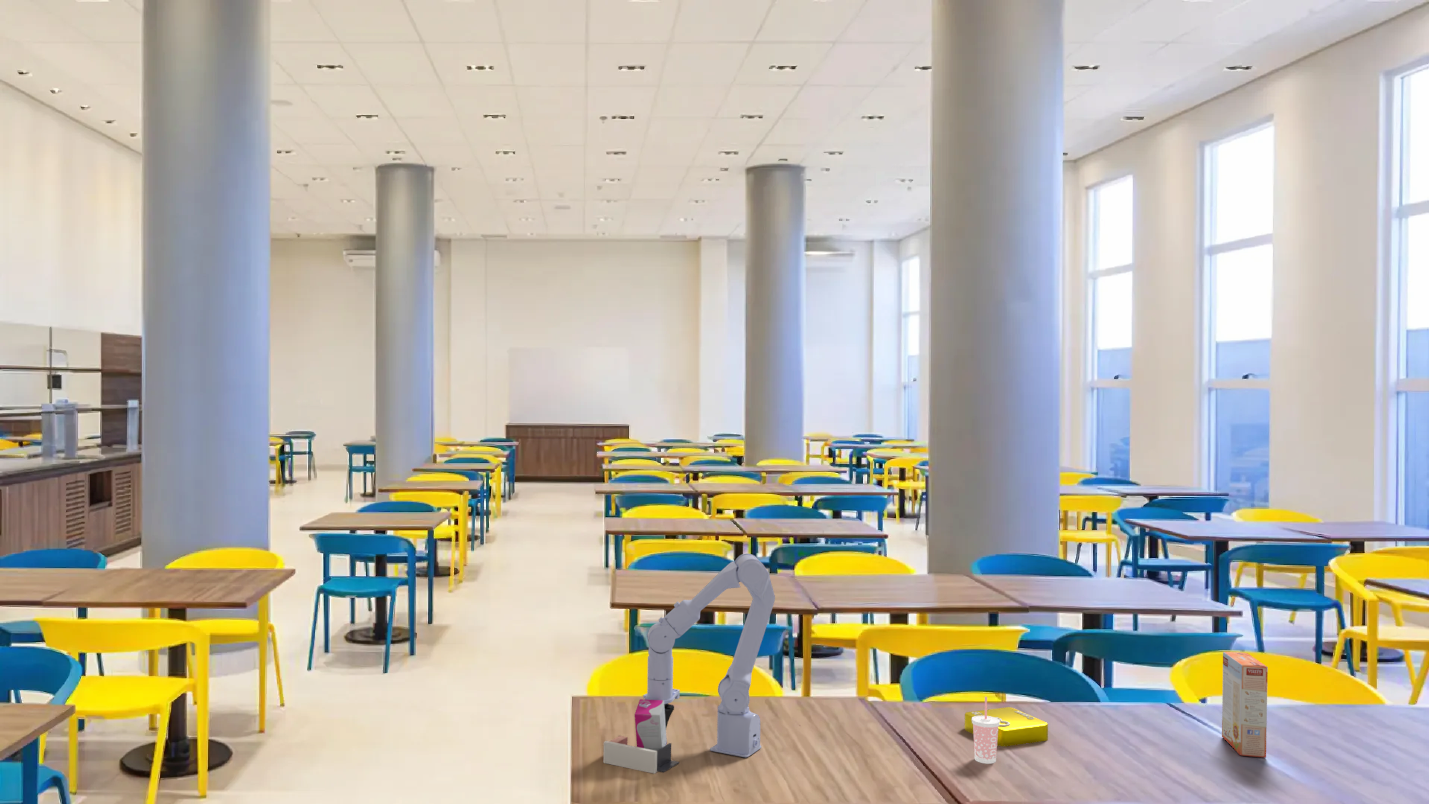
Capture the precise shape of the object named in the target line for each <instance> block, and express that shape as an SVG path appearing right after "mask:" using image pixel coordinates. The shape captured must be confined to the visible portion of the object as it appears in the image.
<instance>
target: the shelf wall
mask: <svg viewBox="0 0 1429 804" xmlns="http://www.w3.org/2000/svg"><path fill="white" fill-rule="evenodd" d="M610 741H611V740H605V741H603V764H607V765H612V766H617V767H621V768H627V769H631V770H636V771H640V772H645V773H649V774H656V773H657V772H658V771H657V751H655V750H650V749H645V748H640V747H637V746H633V745H629V744H627V745H625V744H620V743H615V742H610Z"/></svg>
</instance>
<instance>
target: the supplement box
mask: <svg viewBox="0 0 1429 804" xmlns="http://www.w3.org/2000/svg"><path fill="white" fill-rule="evenodd" d="M641 703H642V705H643V704H645V703H646V705H648V704H651V705H649V706H648V707H647V708H644V707H641V706H639V704H641ZM634 725H635V740H636V747H640V748H645V749H650V750H655V751H657V750H658V749H660V748H662V747H664V746H665V745H667V744H668V741H667V728H666V724H665V708H664V700H645V699H644V698H640V699H639V701H638V704H637V707H636V710H635V713H634Z"/></svg>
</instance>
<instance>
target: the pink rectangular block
mask: <svg viewBox="0 0 1429 804" xmlns="http://www.w3.org/2000/svg"><path fill="white" fill-rule="evenodd" d="M628 739H629V738H628V736H624V735H618V736H616V737H615V738H612V739H611V740H609V741H610V742H615V743H620V744H625V745H628Z"/></svg>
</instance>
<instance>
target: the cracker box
mask: <svg viewBox="0 0 1429 804" xmlns="http://www.w3.org/2000/svg"><path fill="white" fill-rule="evenodd" d="M1268 670H1269V669H1268V666H1266V665H1265V664H1264V663H1262V662H1260V660H1258V659H1257V658H1255V657H1254V656H1253V655H1251V654H1249V653H1247V652H1241V651H1236V652H1235V651H1223V652H1222V698H1221V699H1222V703H1221V705H1222V707H1221V708H1222V709H1221V710H1222V712H1221V714H1222V715H1221V718H1222V719H1221V738H1222V737H1223V738H1224V739H1223V738H1222V739H1223V740H1224V741H1225V740H1226V741H1227V742H1228V743H1229V744H1230V745H1231V746H1232V747H1231V748H1232V749H1233V748H1234V749H1233V750H1234V751H1236V752H1237V754H1238V755H1239V756H1243V757H1254V758H1264V759H1265V758H1267V729H1268V728H1267V727H1268V724H1267V723H1268V719H1267V718H1268V717H1267V716H1268V674H1269V673H1268ZM1226 741H1225V742H1226ZM1227 742H1226V743H1227ZM1228 743H1227V744H1228ZM1229 744H1228V745H1229ZM1230 745H1229V746H1230Z"/></svg>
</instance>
